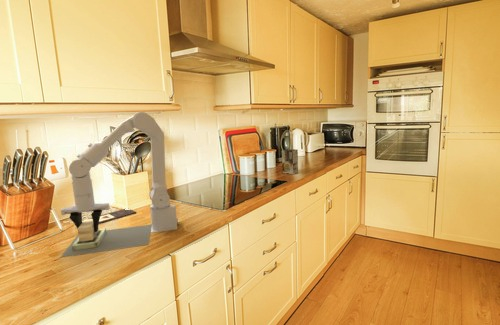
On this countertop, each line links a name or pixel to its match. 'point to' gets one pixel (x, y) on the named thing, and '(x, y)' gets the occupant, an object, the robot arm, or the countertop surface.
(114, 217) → the chocolate bar
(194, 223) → the countertop surface
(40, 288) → the countertop surface
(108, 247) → the rubber mat
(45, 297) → the countertop surface
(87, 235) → the birch block
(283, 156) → the coffee box
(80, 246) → the sage frame
